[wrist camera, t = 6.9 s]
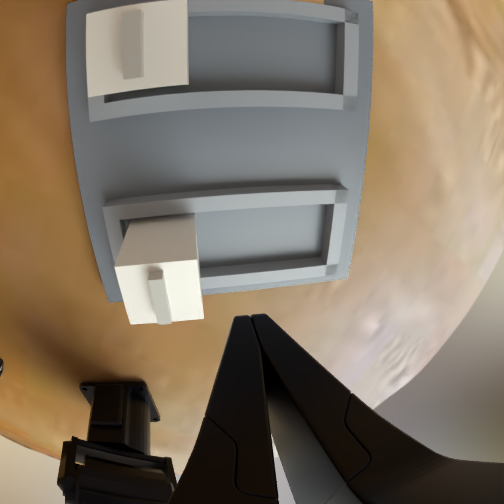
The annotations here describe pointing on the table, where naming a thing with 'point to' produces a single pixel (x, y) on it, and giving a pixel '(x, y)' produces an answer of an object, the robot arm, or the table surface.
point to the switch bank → (235, 141)
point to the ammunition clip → (1, 366)
